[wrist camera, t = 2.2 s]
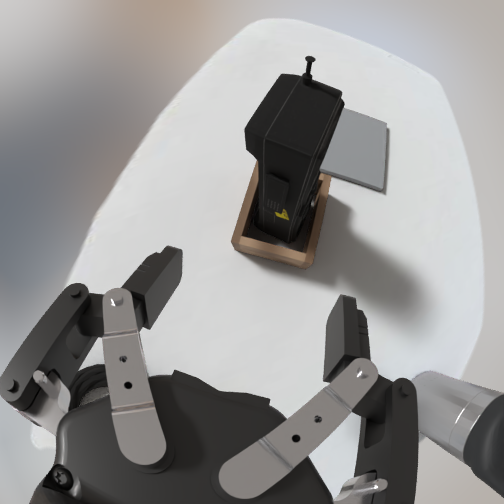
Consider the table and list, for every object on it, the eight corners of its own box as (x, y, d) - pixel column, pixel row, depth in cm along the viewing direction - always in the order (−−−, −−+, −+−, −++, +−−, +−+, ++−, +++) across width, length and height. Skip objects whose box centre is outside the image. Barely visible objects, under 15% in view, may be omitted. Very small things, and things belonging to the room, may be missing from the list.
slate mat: (384, 126, 41) (386, 123, 40) (380, 191, 38) (382, 189, 37) (300, 99, 42) (300, 96, 41) (282, 161, 40) (283, 158, 39)
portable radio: (289, 252, 37) (339, 159, 12) (249, 234, 38) (230, 118, 13) (311, 204, 38) (369, 75, 14) (273, 187, 39) (285, 45, 14)
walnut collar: (323, 190, 39) (331, 176, 34) (305, 269, 36) (312, 264, 32) (258, 173, 39) (258, 156, 34) (234, 249, 37) (230, 241, 32)
